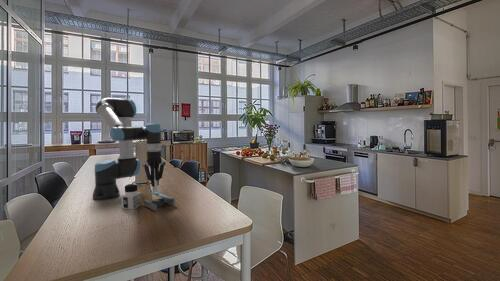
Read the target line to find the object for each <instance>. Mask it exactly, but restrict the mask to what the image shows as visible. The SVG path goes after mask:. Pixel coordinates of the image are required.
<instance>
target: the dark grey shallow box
mask: <svg viewBox="0 0 500 281" xmlns="http://www.w3.org/2000/svg"><path fill="white" fill-rule="evenodd" d="M172 198H173V199H168V198H163V197H160V199H164V204H168V205H170V206H172V207H175V206H176V199H175V197H172ZM143 206H144V207H147V208H149V209H150V210H152V211H154V212H158V207H157V205H156V204H154V203H152V202H151V201H149V200H147V199H143Z"/></svg>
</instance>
